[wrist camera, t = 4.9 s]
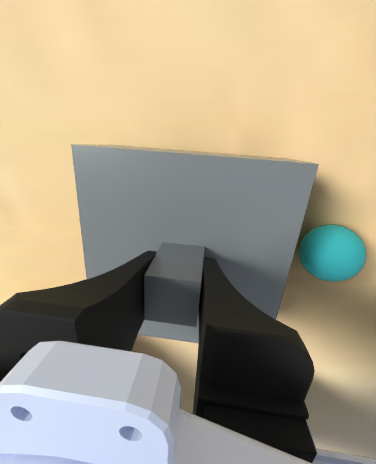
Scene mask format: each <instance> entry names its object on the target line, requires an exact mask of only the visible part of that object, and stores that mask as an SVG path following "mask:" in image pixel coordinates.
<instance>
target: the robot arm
mask: <svg viewBox="0 0 376 464" xmlns="http://www.w3.org/2000/svg"><path fill="white" fill-rule="evenodd" d="M156 253H157V251H149V250H148V251H146V252H144V253H142V254H141V255H139V256H137V257H136V258H134V259H132V260H130V261H128V262H127V263H125V264H123V265H121V266H119V267H117V268H115V269H113V270H111V271H108V272H106V273H104V274H101V275H98V276H96V277H93V278H90V279H86V280H83V281H80V282H76V283H73V284H69V285H64V286H60V287H55V288H49V289H43V290H36V291H29V292H21V293H16V294H15V295H14V296H12V297H11V298H10V299H8V300H7V301H6V302H4V303H3V304H2V305H0V464H376V459H374V458H368V457H362V456H357V455H351V454H345V453H339V452H334V451H328V450H322V449H317V448H316V446H315V443H314V440H313V437H312V434H311V431H310V428H309V425H308V422H307V420H308V417H309V415H308V411H307V408H306V405H305V402H304V400H305V398H306V395H307V393H308V390H309V388H310V385H311V383H312V380H313V376H314V366H313V361H312V359H311V357H310V355H309V353H308V351H307V349H306V347H305V345H304V343H303V341H302V339H301V338H300V336H299V334H298V332H297V331H296V330H294V329H292V328H290V327H288V326H286V325H285V324H283V323H281V322H279V321H277V320H275V319H274V318H272V317H270V316H269V315H267V314H266V313H264V312H263V311H261V310H260V309H258V308H257V307H256V306H254V305H253V304H252V303H251V302H249V301H248V300H247V299H246V298H245V297H243V296H242V295H241V294H240V293H239V292H238V291H237V290H236V289H235V287H234V286H233V285H232V284H231V283H230V281H229V280H228V279H227V277H226V276H225V274H224V273H223V271H222V270H221V268H220V266H219V264H218V262H217V260H216V259H215V258H210V257H204V259H203V270H202V280H201V289H200V298H199V308H198V319H199V348H198V361H197V372H196V384H195V395H194V407H193V414H191V413H189V412H186V411H184V410H182V409H181V408H180V396H181V386H180V382H179V379H178V375H177V373H176V372H175V371H174V370H173V369H171V368H170V367H169V366H168V365H167V364H166V363H165V362H164V361H163V360H161V359H159V358H156V357H153V356H150V355H147V354H144V353H138V352H131V351H132V348H133V345H134V342H135V339H136V337H137V335H138V332H139V330H140V328H141V326H142V323H143V321H144V275H145V273H146V271H147V269H148V268H149V266H150V264H151V262H152V260H153V258H154V257H155V255H156Z"/></svg>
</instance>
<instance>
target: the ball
mask: <svg viewBox="0 0 376 464" xmlns="http://www.w3.org/2000/svg"><path fill="white" fill-rule="evenodd" d="M299 256H300V260H301V262H302V264H303V266H304V267H305V269H306V270H307V271H308V272H309V273H311V274H312V275H313V276H315V277H317V278H319V279H322V280H326V281H343V280H346V279H349V278H351V277H353V276H355V275H356V274H357V273H358V272H359V271H360V270H361V269H362V267H363V266H364V264H365V261H366V248H365V245H364V243H363V241H362V240H361V239H360V237H359V236H358V235H357V234H356V233H354V232H353V231H352V230H350V229H348V228H346V227H343V226H339V225H323V226H320V227H317V228H314V229H313V230H311V231H310V232H308V233H307V234H306V235H305V236H304V238H303V239H302V241H301V244H300V247H299Z"/></svg>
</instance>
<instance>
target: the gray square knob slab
mask: <svg viewBox="0 0 376 464" xmlns="http://www.w3.org/2000/svg"><path fill="white" fill-rule="evenodd" d="M72 154H73V163H74V172H75V180H76V189H77V198H78V207H79V215H80V224H81V233H82V242H83V250H84V259H85V268H86V277H87V279H90V278H93V277H96V276H98V275H101V274H104V273H106V272H108V271H111V270H113V269H115V268H117V267H119V266H121V265H123V264H125V263H127V262H128V261H130V260H132V259H134V258H136V257H137V256H139V255H141V254H142V253H144V252H146V251H148V250H149V251H157V253H156V255H155V257H154V258H153V260H152V262H151V264H150V266H149V268H148V269H147V271H146V273H145V275H144V321H143V323H142V326H141V328H140V330H139V332H138V335H145V336H152V337H159V338H165V339H172V340H179V341H186V342H193V343H199V319H198V308H199V298H200V289H201V280H202V270H203V259H204V257H210V258H215V259H216V260H217V262H218V264H219V266H220V268H221V270H222V271H223V273H224V274H225V276H226V277H227V279H228V280H229V281H230V283H231V284H232V285H233V286H234V287H235V289H236V290H237V291H238V292H239V293H240V294H241V295H242V296H243V297H245V298H246V299H247V300H248V301H249V302H251V303H252V304H253V305H254V306H256V307H257V308H258V309H260V310H261V311H263V312H264V313H266V314H267V315H269V316H270V317H272V318H274V319H275V320H276V317H277V314H278V310H279V306H280V303H281V299H282V295H283V292H284V288H285V284H286V281H287V277H288V274H289V270H290V266H291V263H292V259H293V255H294V252H295V248H296V245H297V241H298V237H299V234H300V230H301V226H302V223H303V219H304V216H305V212H306V208H307V205H308V201H309V197H310V194H311V190H312V187H313V183H314V179H315V176H316V172H317V168H318V165H319V164H315V163H309V162H303V161H298V160H292V159H285V158H272V157H259V156H247V155H234V154H221V153H208V152H196V151H183V150H170V149H157V148H144V147H132V146H119V145H72Z"/></svg>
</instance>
